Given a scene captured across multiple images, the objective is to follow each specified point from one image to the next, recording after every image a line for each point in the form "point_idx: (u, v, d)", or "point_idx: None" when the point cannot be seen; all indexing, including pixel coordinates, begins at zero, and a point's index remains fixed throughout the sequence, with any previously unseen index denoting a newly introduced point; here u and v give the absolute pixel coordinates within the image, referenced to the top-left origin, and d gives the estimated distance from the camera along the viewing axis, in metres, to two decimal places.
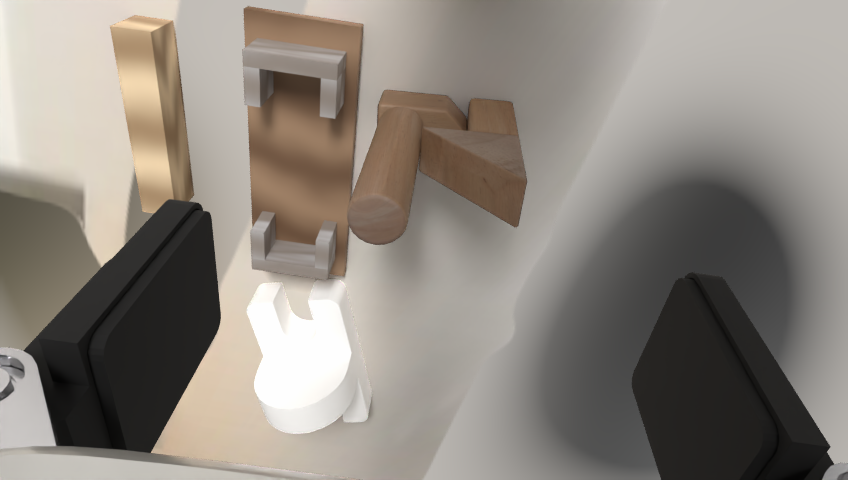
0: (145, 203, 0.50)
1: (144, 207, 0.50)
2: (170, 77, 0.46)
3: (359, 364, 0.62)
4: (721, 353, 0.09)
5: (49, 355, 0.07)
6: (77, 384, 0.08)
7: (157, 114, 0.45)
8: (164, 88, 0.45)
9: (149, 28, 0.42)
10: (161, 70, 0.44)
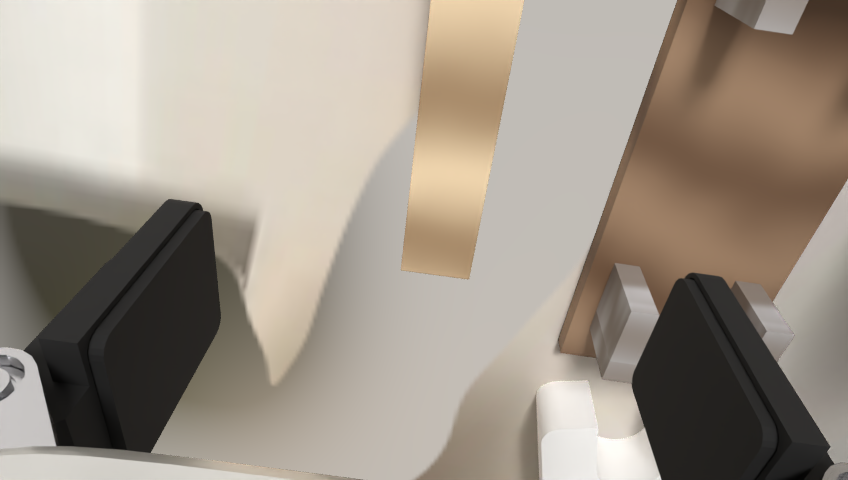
0: (412, 253, 0.24)
1: (407, 262, 0.24)
2: None
3: None
4: (721, 353, 0.09)
5: (49, 355, 0.07)
6: (77, 384, 0.08)
7: (501, 59, 0.19)
8: None
9: None
10: None
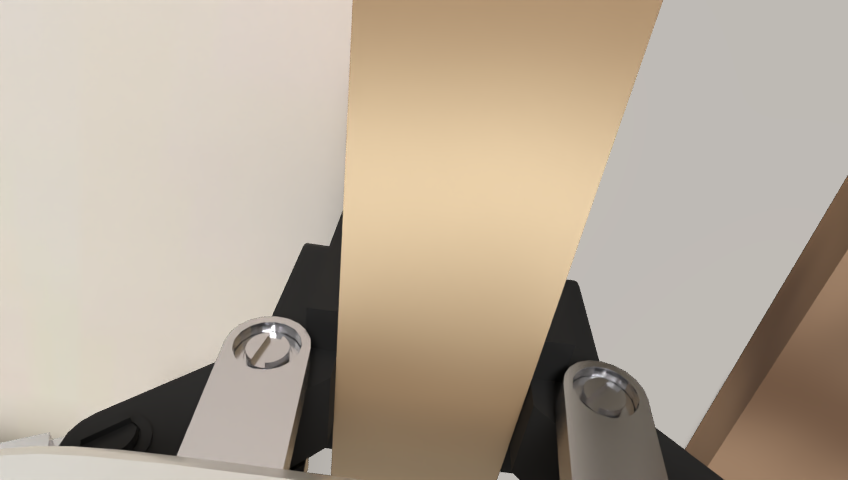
0: None
1: None
2: None
3: None
4: None
5: (309, 323, 0.09)
6: (329, 349, 0.09)
7: (516, 346, 0.08)
8: None
9: None
10: None
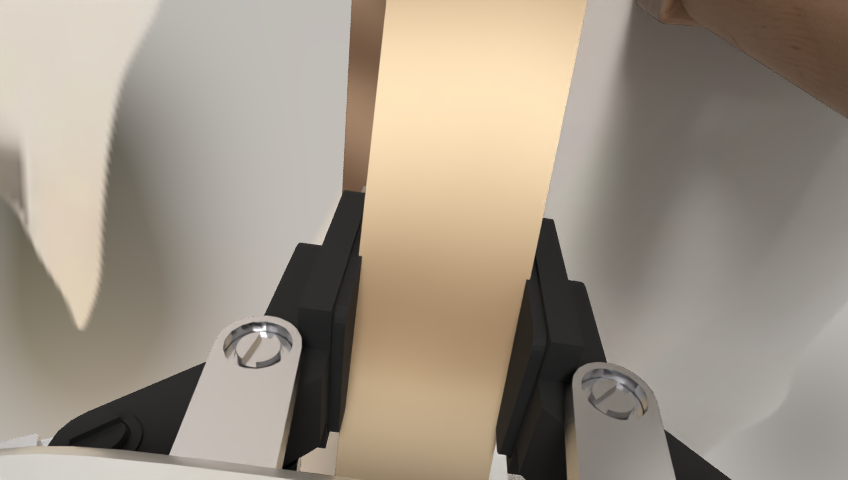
0: None
1: None
2: None
3: None
4: (526, 279, 0.10)
5: (301, 322, 0.09)
6: (321, 348, 0.09)
7: (514, 245, 0.10)
8: None
9: None
10: None
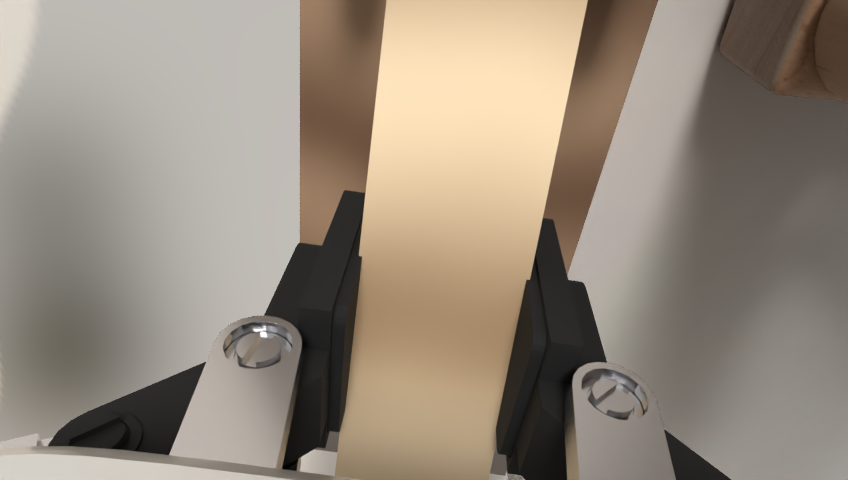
0: None
1: None
2: None
3: None
4: None
5: (301, 322, 0.09)
6: (321, 348, 0.09)
7: (514, 246, 0.10)
8: None
9: None
10: None
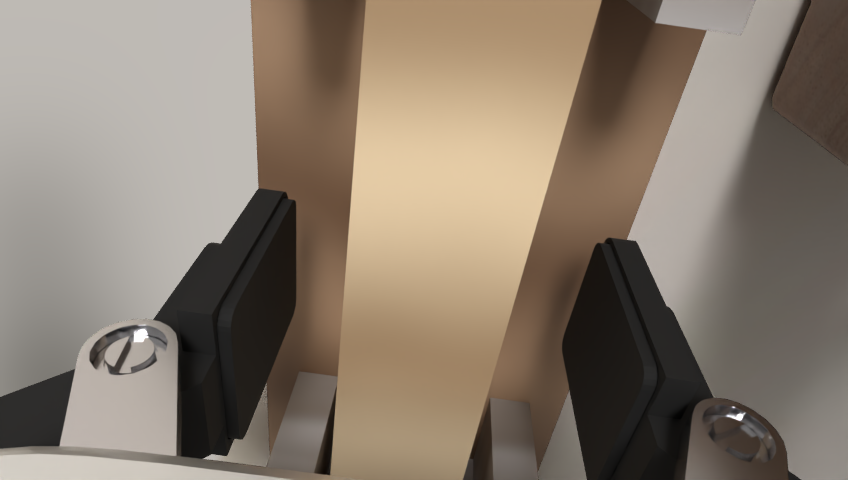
0: None
1: None
2: None
3: None
4: (622, 306, 0.10)
5: (183, 326, 0.08)
6: (206, 353, 0.08)
7: (491, 308, 0.10)
8: None
9: None
10: None
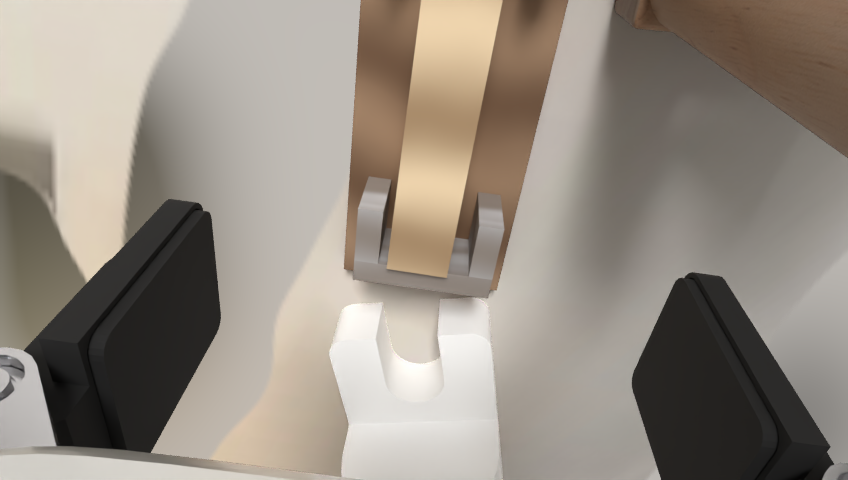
0: (397, 254, 0.27)
1: (392, 261, 0.28)
2: None
3: None
4: (721, 353, 0.09)
5: (49, 355, 0.07)
6: (77, 384, 0.08)
7: (475, 87, 0.23)
8: None
9: None
10: None
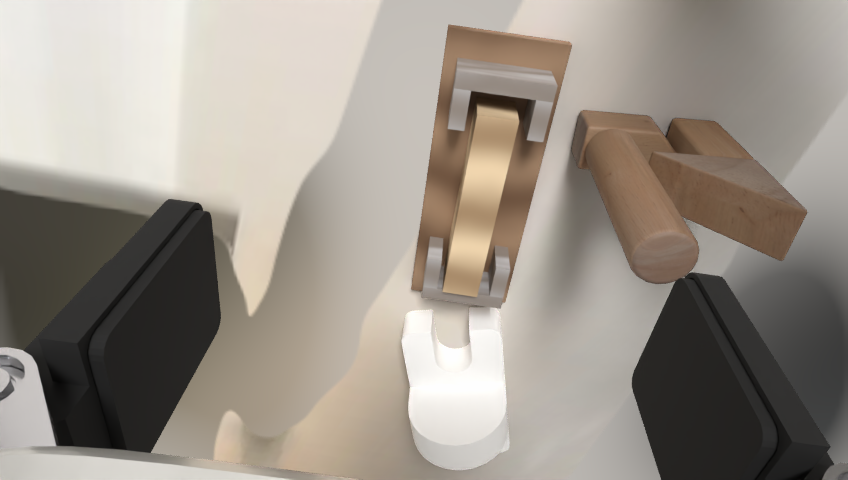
0: (449, 283, 0.48)
1: (446, 288, 0.48)
2: None
3: None
4: (721, 353, 0.09)
5: (49, 355, 0.07)
6: (77, 384, 0.08)
7: (495, 200, 0.43)
8: None
9: (511, 116, 0.40)
10: None
